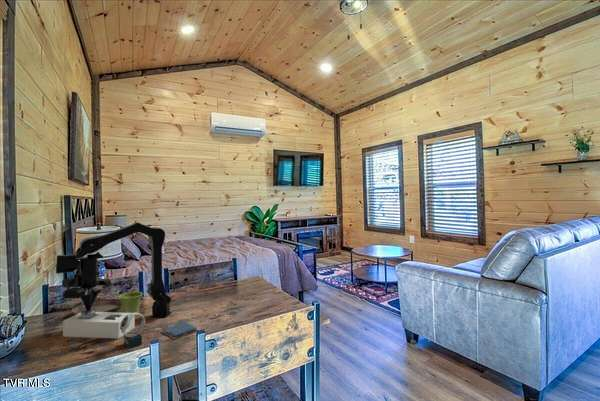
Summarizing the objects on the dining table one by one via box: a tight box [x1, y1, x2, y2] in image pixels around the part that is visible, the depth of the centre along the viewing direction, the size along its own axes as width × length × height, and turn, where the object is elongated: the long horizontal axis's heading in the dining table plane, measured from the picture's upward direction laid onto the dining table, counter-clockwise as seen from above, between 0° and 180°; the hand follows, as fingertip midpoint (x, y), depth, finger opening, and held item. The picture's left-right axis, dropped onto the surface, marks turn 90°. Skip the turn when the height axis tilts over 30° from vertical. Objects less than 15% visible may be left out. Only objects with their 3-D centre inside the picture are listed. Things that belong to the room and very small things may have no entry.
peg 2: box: [105, 315, 119, 320], centre depth 121 cm, size 5×5×6 cm
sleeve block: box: [62, 311, 136, 340], centre depth 121 cm, size 22×10×6 cm, turn 87°
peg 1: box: [81, 307, 95, 319], centre depth 122 cm, size 5×5×6 cm
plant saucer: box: [71, 298, 122, 316], centre depth 143 cm, size 21×21×3 cm
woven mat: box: [161, 321, 199, 340], centre depth 122 cm, size 10×11×2 cm
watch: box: [120, 312, 146, 350], centre depth 111 cm, size 6×8×11 cm
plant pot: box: [118, 291, 143, 313], centre depth 141 cm, size 9×9×9 cm
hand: (88, 309), depth 122 cm, fingers closed, pressing on peg 1
